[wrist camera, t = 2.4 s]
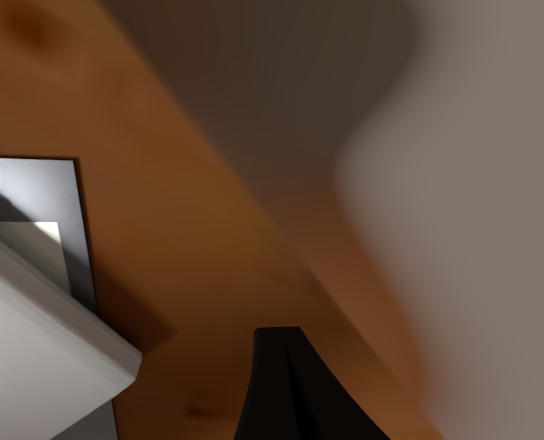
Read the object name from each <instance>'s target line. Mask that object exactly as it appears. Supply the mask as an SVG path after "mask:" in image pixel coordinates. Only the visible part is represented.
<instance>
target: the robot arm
mask: <svg viewBox="0 0 544 440" xmlns="http://www.w3.org/2000/svg"><path fill="white" fill-rule="evenodd" d="M233 440H391V439H390V438H389V437H388V436H387V435H386V434H385V433H384V432H383V431H382V430H381V429H380V428H379V427H378V426H377V425H376V424H375V423H374V422H373V421H372V420H371V419H370V417H369V416H368V415H367V414H366V413H365V412H364V411H363V410H362V409H361V407H360V406H359V405H358V404H357V403H356V402H355V400H354V399H353V398H352V397H351V396H350V395H349V393H348V392H347V391H346V390H345V389H344V387H343V386H342V385H341V384H340V382H339V381H338V380H337V378H336V377H335V376H334V375H333V373H332V372H331V371H330V370H329V368H328V367H327V366H326V364H325V363H324V361H323V360H322V359H321V357H320V356H319V355H318V353H317V352H316V350H315V349H314V347H313V346H312V345H311V343H310V342H309V340H308V339H307V337H306V336H305V334H304V333H303V331H302V330H301V329H300V328H299V327H268V328H257V329H256V330H255V331H254V340H253V357H252V372H251V377H250V382H249V387H248V391H247V395H246V399H245V402H244V406H243V410H242V413H241V417H240V420H239V424H238V427H237V430H236V433H235V436H234V439H233Z"/></svg>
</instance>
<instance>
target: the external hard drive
mask: <svg viewBox="0 0 544 440" xmlns="http://www.w3.org/2000/svg"><path fill="white" fill-rule="evenodd" d="M141 362H142V353H141V352H140V351H139V350H137V349H136V348H135V347H134V346H132V345H131V344H130V343H129V342H127V341H126V340H125V339H124V338H122V337H121V336H120V335H119V334H117V333H116V332H115V331H114V330H112V329H111V328H110V327H109V326H108V325H106V324H105V323H104V322H103V321H101V320H100V319H99V318H98V317H97V316H96V315H94V314H93V313H92V312H90V311H89V310H88V309H87V308H85V307H84V306H83V305H82V304H80V303H79V302H78V301H77V300H75V299H74V298H73V297H71V296H70V295H69V294H68V293H66V292H65V291H64V290H63V289H62V288H60V287H59V286H58V285H57V284H56V283H55V282H53V281H52V280H51V279H49V278H48V277H47V276H46V275H44V274H43V273H42V272H41V271H40V270H38V269H37V268H36V267H35V266H33V265H32V264H31V263H29V262H28V261H27V260H26V259H25V258H23V257H22V256H21V255H20V254H19V253H17V252H16V251H14V250H13V249H12V248H11V247H9V246H8V245H7V244H6V243H4V242H3V241H2V240H1V239H0V440H50V439H51V438H53V437H55V436H56V435H57V434H59V433H61V432H63V431H64V430H66V429H67V428H68V427H70V426H71V425H73V424H74V423H76V422H77V421H79V420H80V419H82V418H83V417H85V416H87V415H88V414H90V413H91V412H92V411H93V410H95V409H97V408H98V407H100V406H101V405H103V404H104V403H106V402H108V401H109V400H110V399H112V398H113V397H115V396H116V395H118V394H119V393H120V392H121V391H123V390H124V389H126V388H127V387H128V386H129V385H130V384H132V383H133V382H134V381H135V379H136V377H137V374H138V371H139V368H140V364H141Z"/></svg>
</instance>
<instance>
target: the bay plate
mask: <svg viewBox="0 0 544 440" xmlns="http://www.w3.org/2000/svg"><path fill="white" fill-rule="evenodd" d="M0 239H1V240H2V241H3V242H4V243H6V244H7V245H8V246H9V247H11V248H12V249H13V250H14V251H16V252H17V253H19V254H20V255H21V256H22V257H23V258H25V259H26V260H27V261H28V262H29V263H31V264H32V265H33V266H35V267H36V268H37V269H38V270H40V271H41V272H42V273H43V274H44V275H46V276H47V277H48V278H49V279H51V280H52V281H53V282H55V283H56V284H57V285H58V286H59V287H60V288H62V289H63V290H64V291H65V292H66V293H68V294H69V295H70V296H71V297H73V298H74V299H75V300H77V301H78V302H79V303H80V304H82V305H83V306H84V307H85V308H87V309H88V310H89V311H90V312H92V313H93V314H94V315H96V316H97V317H98V318H99V314H98V307H97V301H96V295H95V289H94V282H93V276H92V270H91V263H90V257H89V251H88V245H87V238H86V232H85V226H84V219H83V213H82V207H81V201H80V194H79V188H78V182H77V175H76V169H75V163H74V160H57V159H28V158H0ZM50 440H119V439H118V433H117V427H116V421H115V414H114V408H113V402H112V399H110V400H109V401H108V402H106V403H104V404H103V405H101V406H100V407H98V408H97V409H95V410H93V411H92V412H91V413H90V414H88V415H87V416H85V417H83V418H82V419H80V420H79V421H77V422H76V423H74V424H73V425H71V426H70V427H68V428H67V429H66V430H64V431H63V432H61V433H59V434H57V435H56V436H55V437H53V438H51V439H50Z"/></svg>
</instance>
